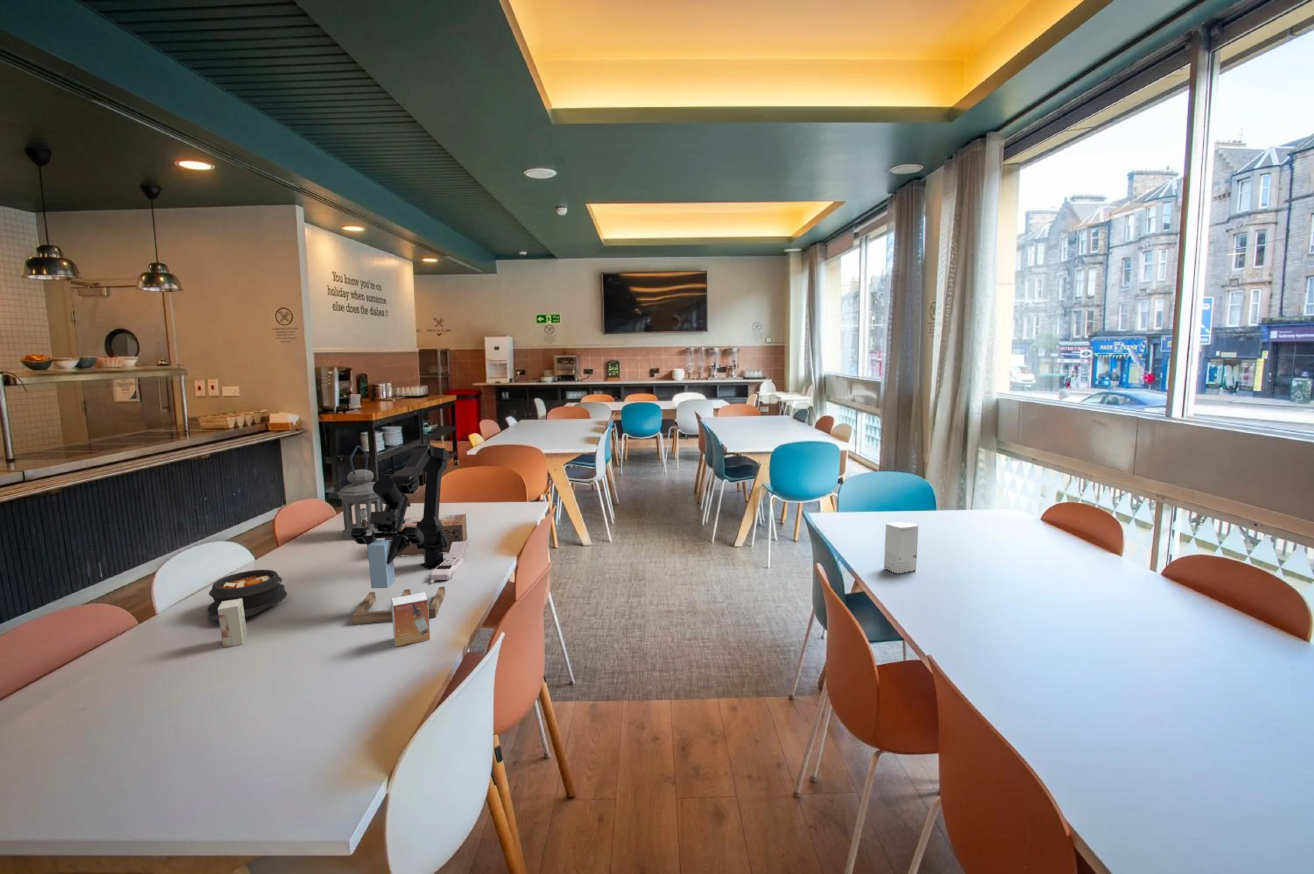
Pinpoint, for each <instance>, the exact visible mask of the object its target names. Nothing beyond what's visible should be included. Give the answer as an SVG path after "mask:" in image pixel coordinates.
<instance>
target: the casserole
mask: <svg viewBox="0 0 1314 874" xmlns="http://www.w3.org/2000/svg"><path fill="white" fill-rule="evenodd" d="M282 582H283V578H282V577H281V576H279V574H278V572H277V571H275V570H272V569H256V570H255V569H253V570H247V571H242V572H241V571H240V572H238V573H233V574H230V575H227V576H224V577H222V578H219V579H217V580H216V581H214V582H213V584H212V586H211V589H210V591H209V592H208V595H209V597H211V598H212V599H213V602H211V603H210V604H209V605H208V606H207V608H206V611H207V613H208V615H207V617H206V618H207V620H209V621H215V622H216V621H217V622H218V621H219V615H218V607H219V606H220V604H221V603H222V601H228V600H235V599H241V598H242V600H243V608H244V615H245V618H249V617H252V616H255V615H257V614H259V613H261V612H262V611H264V610H265V609H268V608H270V607H273V606H274V605H277V604H278V603H280V602H282V601H283V600H284V599H286V597H287V596H288V592H287V591H286V589H285V587H286V586H285V584H282Z"/></svg>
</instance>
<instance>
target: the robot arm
mask: <svg viewBox="0 0 1314 874" xmlns="http://www.w3.org/2000/svg"><path fill="white" fill-rule="evenodd" d="M449 460H450V453H449V451H448V450H447V449H446V448H445V447H440V446H439V447H438V446H435V445H433V444H418V445H416V446H415V450H414V452H413V454H412V455H411V457H410V458H409V459H408V460H407V463H406V464H405V465H404V467H403V468H402V469H399V470H397V471H395V472H394V473H393V474H388V473H387V474H383V477H381V478H379V479H378V480H377V481H374V482H375V484H374V485H373V491H374V492H375V494H376V495H377V496H378V498H379V499H380V500H381V502H382V503H383V505H385V506H384V508H383V511H381V512H375V511H372V512H371V515H370V522H369V524H375V525H374V527H375V529H378V531H372V530H369V529H368V528H367V527H354V528H352V529H351V532H350V536H351V537H352V538H353V539H354V540H353V541H355V543H356V544H358V545H366V547H367V548H368V545H369V544H371V543H372V542H374V541H375V540H379V539H385V538H392V546H391V549H390V552H389V555H388V558H387V564H390V563H391V562H392V561H394V560H395V559H396V557H398V556H397V555H398V554H399V553H400V552H401V551H402V550H404V549H405V548H406V547H409V546H410V544H409V542H411V543H412V544H416V545H417V548H418V549H424V554H423V560H424V561H423V562H422V563H420V564H419V565H420V566H421V567H424V568H426V569H429V570H434V569H435V568H436V567H437V566H439V565H440V564H441V563H442V562H444V561H445V559H444V553H443V548H446V547H448V537H447V536H446V534H445V533H444V532H443V525H442V523H441V521H440V520H439V516H440V503H441V500H440V499H441V486H442V475H443V473H444V472H445V471H446V469H447V467H448V463H449ZM423 470H424V471H425V475H426V476H425V486H424V488H425V489H424V502H423V503H424V504H423V515H422V517H423V518H422V520H421V521H420V522H418V523H417V525H416V526H406V527H404V528H403V531H400V530H401V527H402V524H405V520H404V518H405V516H406V512H407V509H408V507H409V508H410V507H412V506H411V505H412V504H411V502H410V500H409V497H408V496H407V495H414V494H415V493H416V491H417V490H418V488H419V485H420V482H419V479H418V478H419V477H420V475H421V473H422V471H423ZM367 556H368V555H367ZM368 559H369V556H368Z"/></svg>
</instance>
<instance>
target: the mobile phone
mask: <svg viewBox="0 0 1314 874" xmlns="http://www.w3.org/2000/svg"><path fill="white" fill-rule="evenodd" d="M469 544H470V541H468V540H467V542H466V541H463V542H453V543H452V544H451V548H450V551H449V552H448V555H447V558H445V559H444V562H442V563H441V564H440V565H439V566H437V567H436V568H433V571H432V572H431V573H430V578H431V579H430V581H429V584H430V585H431V584H433V583H434V582H435V581H446V580H447V581H448V580H450V579H452V578H454V575H455V574H456V573H457V572H458V571H459V570H460V568H461V567H462V566H463V564H464V558H465V556H466V552H467V550H468V547H469ZM457 570H458V571H457Z"/></svg>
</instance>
